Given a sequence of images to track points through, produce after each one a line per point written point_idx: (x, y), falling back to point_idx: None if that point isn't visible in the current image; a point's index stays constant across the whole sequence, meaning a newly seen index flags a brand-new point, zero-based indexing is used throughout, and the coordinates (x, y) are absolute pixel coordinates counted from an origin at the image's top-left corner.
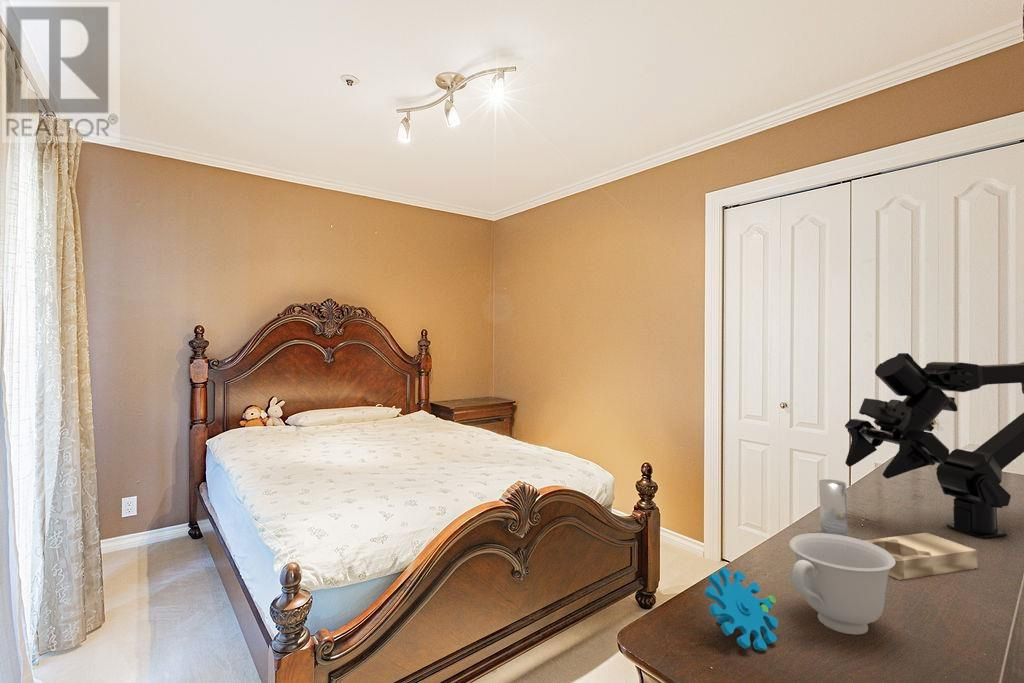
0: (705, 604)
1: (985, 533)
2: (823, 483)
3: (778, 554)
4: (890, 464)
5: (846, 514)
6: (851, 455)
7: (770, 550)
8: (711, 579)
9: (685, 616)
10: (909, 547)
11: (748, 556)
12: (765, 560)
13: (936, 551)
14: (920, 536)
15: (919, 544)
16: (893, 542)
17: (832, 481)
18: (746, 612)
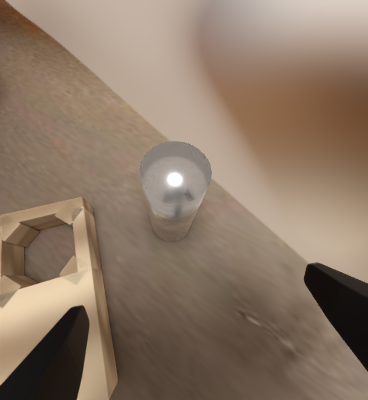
0: (21, 33)
1: None
2: (165, 143)
3: (120, 125)
4: (29, 377)
5: (152, 219)
6: (355, 295)
7: (133, 122)
8: None
9: (7, 18)
10: (38, 284)
11: (117, 95)
12: (104, 106)
13: (1, 328)
14: (85, 357)
15: (44, 317)
16: (65, 266)
17: (188, 176)
18: None
